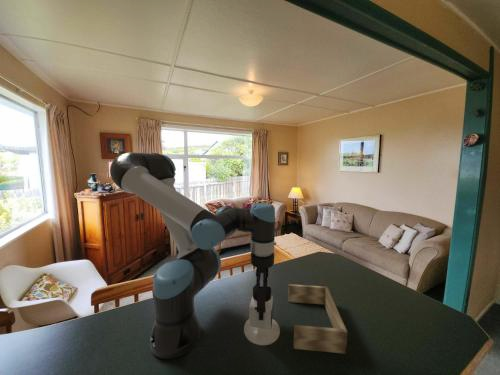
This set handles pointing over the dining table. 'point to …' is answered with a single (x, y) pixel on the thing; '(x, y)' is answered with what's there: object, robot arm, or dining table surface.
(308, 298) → the cubby
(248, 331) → the saucer
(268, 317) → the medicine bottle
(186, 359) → the dining table surface
